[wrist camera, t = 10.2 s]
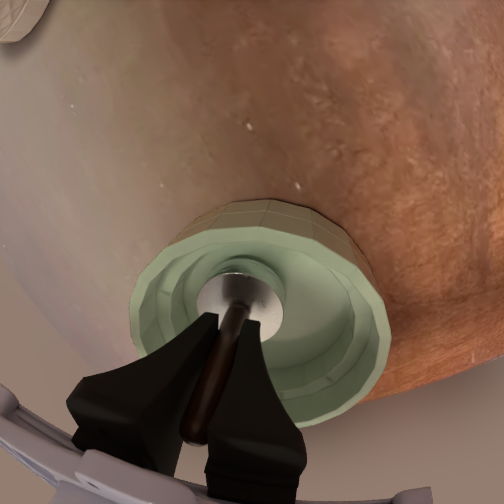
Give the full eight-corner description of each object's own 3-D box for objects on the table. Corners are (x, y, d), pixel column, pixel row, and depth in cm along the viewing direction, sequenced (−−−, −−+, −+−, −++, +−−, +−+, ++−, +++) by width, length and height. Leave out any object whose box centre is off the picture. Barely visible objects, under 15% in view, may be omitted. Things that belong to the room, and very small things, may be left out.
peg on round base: (291, 265, 15) (271, 424, 7) (279, 332, 17) (254, 480, 8) (206, 252, 15) (113, 383, 7) (205, 320, 17) (141, 451, 9)
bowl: (407, 313, 17) (429, 368, 12) (258, 395, 22) (248, 447, 17) (275, 146, 14) (262, 154, 10) (132, 283, 19) (92, 325, 15)
